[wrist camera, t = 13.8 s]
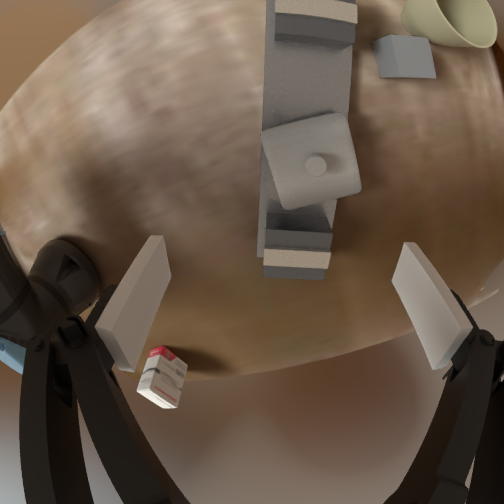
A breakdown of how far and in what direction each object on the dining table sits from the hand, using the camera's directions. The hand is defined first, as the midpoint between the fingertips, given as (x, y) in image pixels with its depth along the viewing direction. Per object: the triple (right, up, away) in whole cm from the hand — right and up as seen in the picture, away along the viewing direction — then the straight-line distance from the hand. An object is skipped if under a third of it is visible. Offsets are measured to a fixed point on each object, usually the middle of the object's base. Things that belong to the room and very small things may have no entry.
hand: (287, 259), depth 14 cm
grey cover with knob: (+3, +15, +15) cm, 22 cm away
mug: (+19, +31, +5) cm, 37 cm away
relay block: (+16, +24, +10) cm, 31 cm away
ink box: (-21, -24, +44) cm, 54 cm away
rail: (+4, +15, +17) cm, 23 cm away
